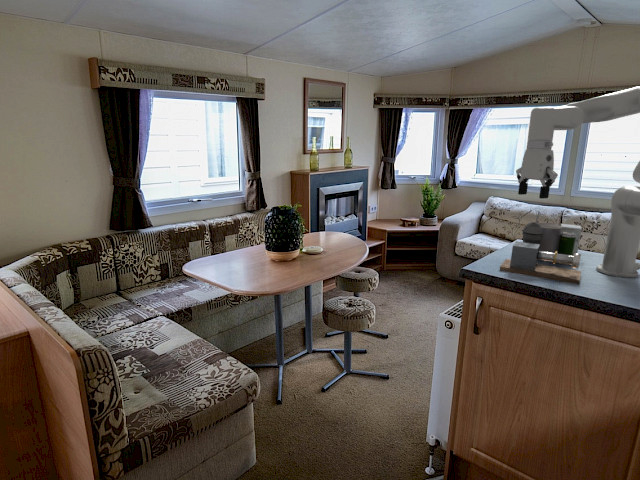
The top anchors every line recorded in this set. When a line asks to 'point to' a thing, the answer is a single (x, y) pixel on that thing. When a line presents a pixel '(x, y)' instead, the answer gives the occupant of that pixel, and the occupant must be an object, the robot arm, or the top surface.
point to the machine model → (536, 265)
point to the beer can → (566, 244)
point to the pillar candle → (550, 237)
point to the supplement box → (573, 229)
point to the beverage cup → (532, 232)
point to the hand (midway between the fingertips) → (532, 196)
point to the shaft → (560, 258)
